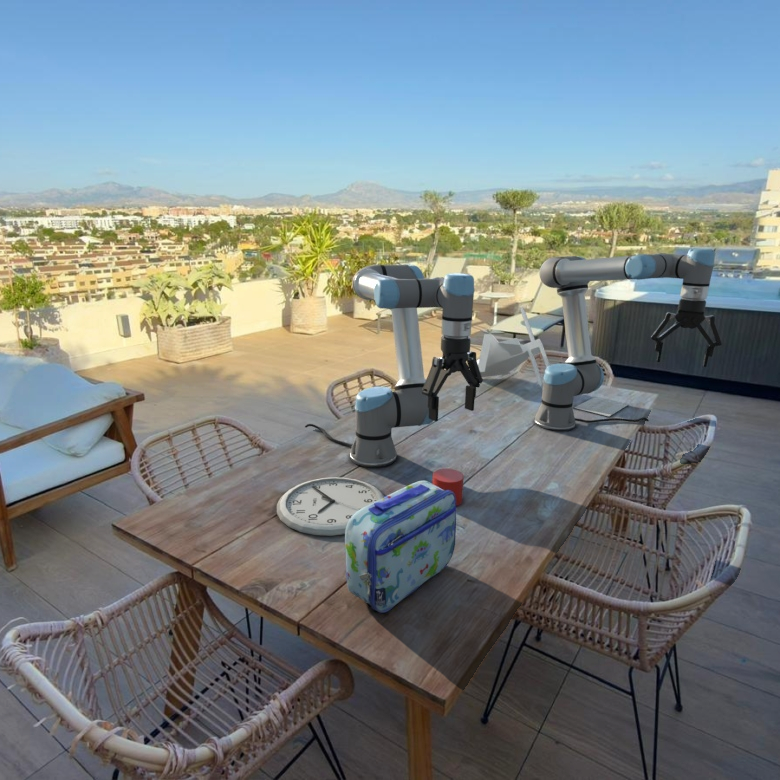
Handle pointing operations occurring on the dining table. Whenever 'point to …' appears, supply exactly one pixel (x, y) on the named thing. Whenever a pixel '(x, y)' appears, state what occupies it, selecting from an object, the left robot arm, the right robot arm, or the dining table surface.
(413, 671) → the dining table surface
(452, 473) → the canister
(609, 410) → the invitation card
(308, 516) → the wall clock
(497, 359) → the white plastic object
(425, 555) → the lunch box
